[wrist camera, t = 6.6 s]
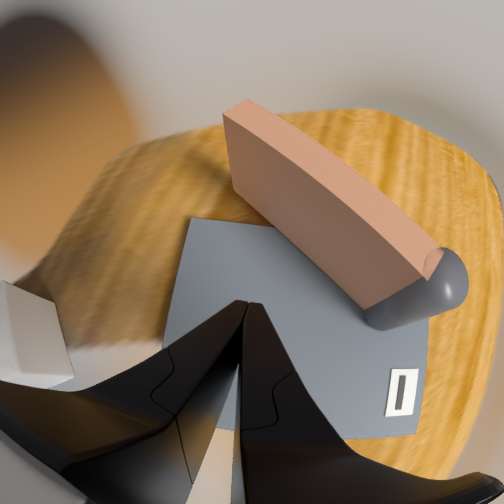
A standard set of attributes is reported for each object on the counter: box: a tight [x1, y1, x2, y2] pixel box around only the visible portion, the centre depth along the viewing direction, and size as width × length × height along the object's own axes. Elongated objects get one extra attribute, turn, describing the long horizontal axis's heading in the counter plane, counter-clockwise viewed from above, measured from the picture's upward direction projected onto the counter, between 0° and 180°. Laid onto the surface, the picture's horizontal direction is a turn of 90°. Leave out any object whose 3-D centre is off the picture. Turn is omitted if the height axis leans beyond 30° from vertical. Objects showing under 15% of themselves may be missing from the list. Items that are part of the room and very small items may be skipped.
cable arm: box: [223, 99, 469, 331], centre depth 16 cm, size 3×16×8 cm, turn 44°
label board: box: [162, 218, 429, 439], centre depth 19 cm, size 15×20×1 cm
